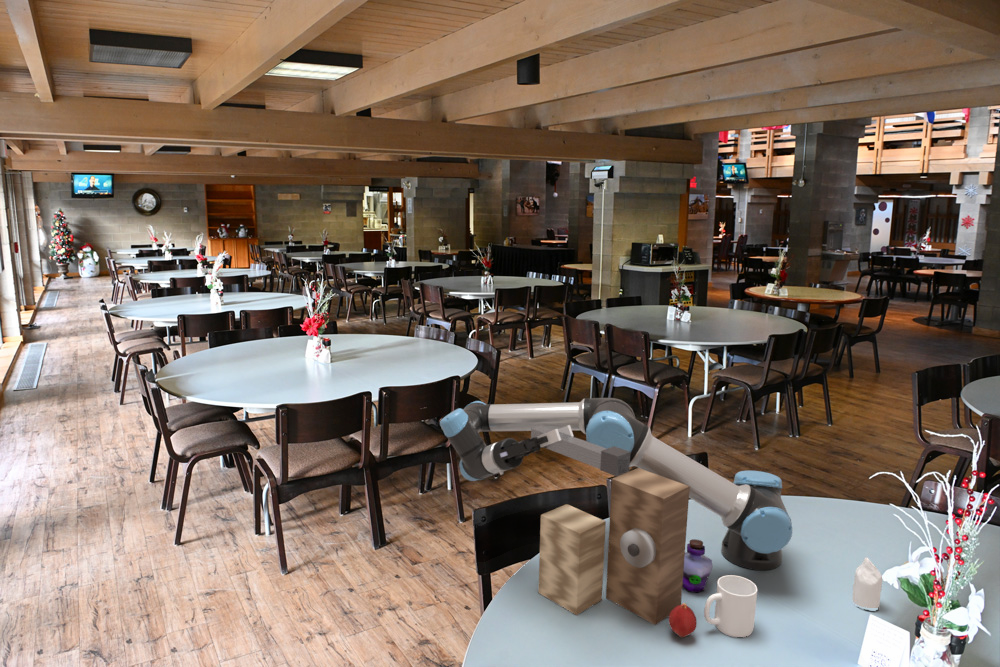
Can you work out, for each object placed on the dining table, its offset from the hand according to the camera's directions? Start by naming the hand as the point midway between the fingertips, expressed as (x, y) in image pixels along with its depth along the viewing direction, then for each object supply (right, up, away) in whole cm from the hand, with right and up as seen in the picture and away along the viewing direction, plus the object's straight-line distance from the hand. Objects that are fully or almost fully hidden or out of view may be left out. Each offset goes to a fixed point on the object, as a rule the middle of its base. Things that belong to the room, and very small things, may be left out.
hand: (564, 432), depth 156 cm
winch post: (+17, -41, +2) cm, 44 cm away
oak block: (+2, -40, +5) cm, 40 cm away
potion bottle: (+32, -39, +10) cm, 52 cm away
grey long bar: (+3, -5, -2) cm, 6 cm away
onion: (+24, -43, -9) cm, 50 cm away
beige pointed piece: (+71, -41, +4) cm, 82 cm away
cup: (+35, -43, -6) cm, 56 cm away
